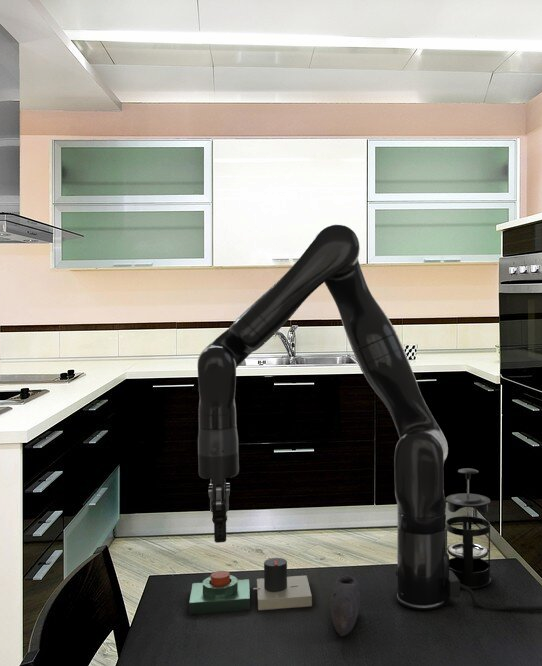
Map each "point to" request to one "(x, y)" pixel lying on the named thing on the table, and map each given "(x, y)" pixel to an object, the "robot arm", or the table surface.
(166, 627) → the table surface
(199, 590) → the button box
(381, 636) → the table surface
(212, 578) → the button
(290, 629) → the table surface
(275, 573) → the dial
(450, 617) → the table surface
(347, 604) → the perforated stone tool
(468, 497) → the french press
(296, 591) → the control panel
